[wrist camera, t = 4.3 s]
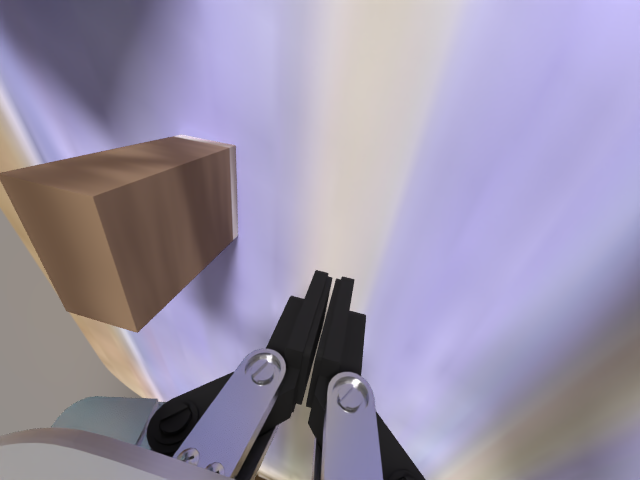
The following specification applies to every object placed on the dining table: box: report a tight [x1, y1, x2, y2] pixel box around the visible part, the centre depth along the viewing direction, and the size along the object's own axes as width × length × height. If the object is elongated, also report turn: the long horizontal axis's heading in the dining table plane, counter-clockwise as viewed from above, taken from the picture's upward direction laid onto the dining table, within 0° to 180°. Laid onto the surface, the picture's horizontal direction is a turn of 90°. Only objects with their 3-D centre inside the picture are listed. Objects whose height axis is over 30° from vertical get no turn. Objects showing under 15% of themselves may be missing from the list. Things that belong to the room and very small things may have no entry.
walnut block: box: [0, 135, 238, 333], centre depth 15 cm, size 4×7×10 cm, turn 172°
